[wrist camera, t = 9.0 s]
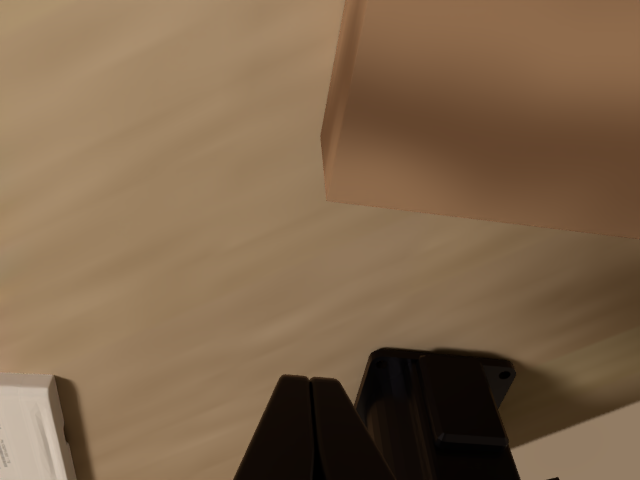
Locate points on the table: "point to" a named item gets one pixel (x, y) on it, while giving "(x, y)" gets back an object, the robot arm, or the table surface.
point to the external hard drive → (32, 429)
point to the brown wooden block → (489, 111)
